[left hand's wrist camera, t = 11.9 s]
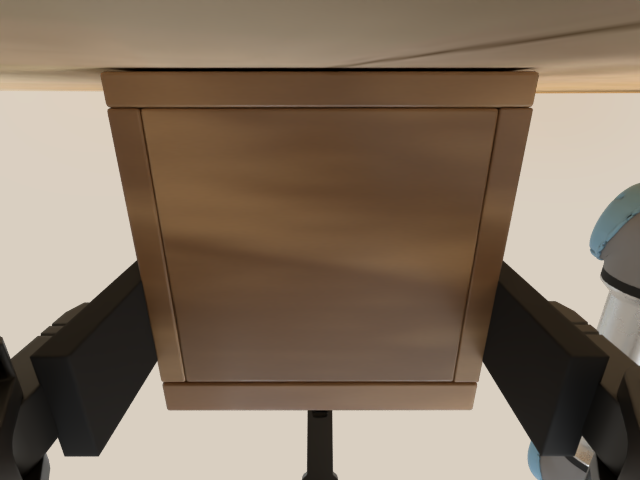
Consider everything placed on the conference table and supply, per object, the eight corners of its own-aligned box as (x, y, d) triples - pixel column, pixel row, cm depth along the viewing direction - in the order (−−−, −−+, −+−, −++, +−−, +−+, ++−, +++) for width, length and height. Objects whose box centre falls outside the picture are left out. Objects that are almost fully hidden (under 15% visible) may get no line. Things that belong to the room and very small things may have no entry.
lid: (391, 225, 25) (383, 330, 28) (247, 225, 25) (255, 330, 28) (478, 383, 11) (444, 553, 14) (160, 384, 11) (195, 553, 14)
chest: (404, 86, 21) (393, 228, 24) (235, 86, 21) (246, 228, 24) (541, 70, 8) (478, 382, 11) (97, 71, 8) (160, 382, 11)
